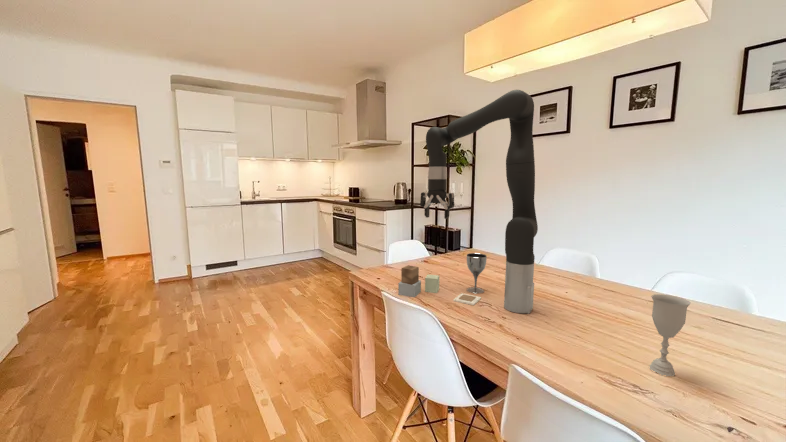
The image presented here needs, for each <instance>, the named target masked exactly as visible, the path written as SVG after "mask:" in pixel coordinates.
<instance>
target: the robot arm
mask: <svg viewBox="0 0 786 442" xmlns="http://www.w3.org/2000/svg"><path fill="white" fill-rule="evenodd" d="M534 111H535V103H534V99H533V98H532V96H531V95H530V94H528V93H527V92H525V91H524V90H521V89H514V90H510V91H508V92H507V93H504V94H503V95H502V96H500V97H498V98H497V99H495V100H494V101H492V102H490V103H489V104H487V105H485V106H483V107H481V108H479V109H477V110H475V111H472V112H471V113H469V114H466V115H463V116H461V117H459V118H456V119H454V120H452V121H451V122H449V123H448V125H447V126H445V127H439V126H438V127H437V126H432V127H429V128H428V130H427V131H426V134H425V135H426V136H425V144H426V149H427V153H428V173H427V192H425V191H423V192H421V193H420V200H419V201H420V203H419V205H420V207H422V208H423V209H424V217H425V218H427V219H428V218H430V206H431V205H433V204H441V206H443V208H444V211H443V212H444V216H443V217H444V219H445V220H447V219H449V218H450V210H451V209H454V207H455V194H454V192H448V193H447V189H448V188H447V187H448V186H447V183H448V181H447V178H448V171H447V170H448V169H447V153H445V152H444V150H443V147H445V146H447V145H450V144H452V143H453V142H455V141H457V140H458V139H461V138H463V137H466V136H469V135H471V134H474V133H476V132H477V131H479V130H481V129H482V128H484V127H486V126H487V125H489V124H492V123H494V122H497V121H500V120H505V119H509V120H508V121H509V128H510V129H509V130H510V140H509V145H508V149H507V152H506V153H507V154H506V158H505V172H506V174H505V176H506V183H507V187H508V189H509V193H510V197H511V201H512V215H511V216H512V219H510V220H509V221H508V223H507V224H506V227H505V234H504V252H505V256H506V257H505V258H506V259H505V281H504V296H503V297H504V299H503V307H504V309H505V310H506V311H509V312H512V313H517V314H528V315H529V314H531V312H532V310H533V307H534V295H535V283H534V273H535V272H534V270H535V259H536V258H535V254H534V242H535V241H534V239H535V237H536V235H537V234H538V231H539V230H538V229H539V228H538V221H537V214H536V207H535V206H536V205H535V192H536V191H535V189H536V187H535V186H536V168H535V167H536V165H535V164H536V163H535V162H536V161H535V150H534V139H533V138H534V136H533V135H534V134H533V127H534V126H533V124H534V116H535V114H534V113H535V112H534ZM427 197H428V199H427ZM446 198H448V201H447V199H446Z"/></svg>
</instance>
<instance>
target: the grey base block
mask: <svg viewBox="0 0 786 442" xmlns="http://www.w3.org/2000/svg"><path fill="white" fill-rule="evenodd" d="M397 285H398V291H397V292H398V295H399V296H403V297H411V298H416V297H417V296H418V295H419V294H420V293H422V280H421V279H419V282H417V283H415V284H413V285H410V284H406V283H402V282H401V281H399V282H398V284H397Z"/></svg>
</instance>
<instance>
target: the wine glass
mask: <svg viewBox="0 0 786 442" xmlns="http://www.w3.org/2000/svg"><path fill="white" fill-rule="evenodd" d="M487 257H488V256H487V254H484V253H479V252H470V253H467V254H466V265H467V268H468V270H469V271H470V273H471V274H472V275H473V279H474V286H473V287H468V288H466V291H467V292H468V293H471V294H483V293H485V290H484V289H482V288H480V287H477V283H478V278H479V276H480V275H481V273H483V272H484V270H485V269H486V266H487Z"/></svg>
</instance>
